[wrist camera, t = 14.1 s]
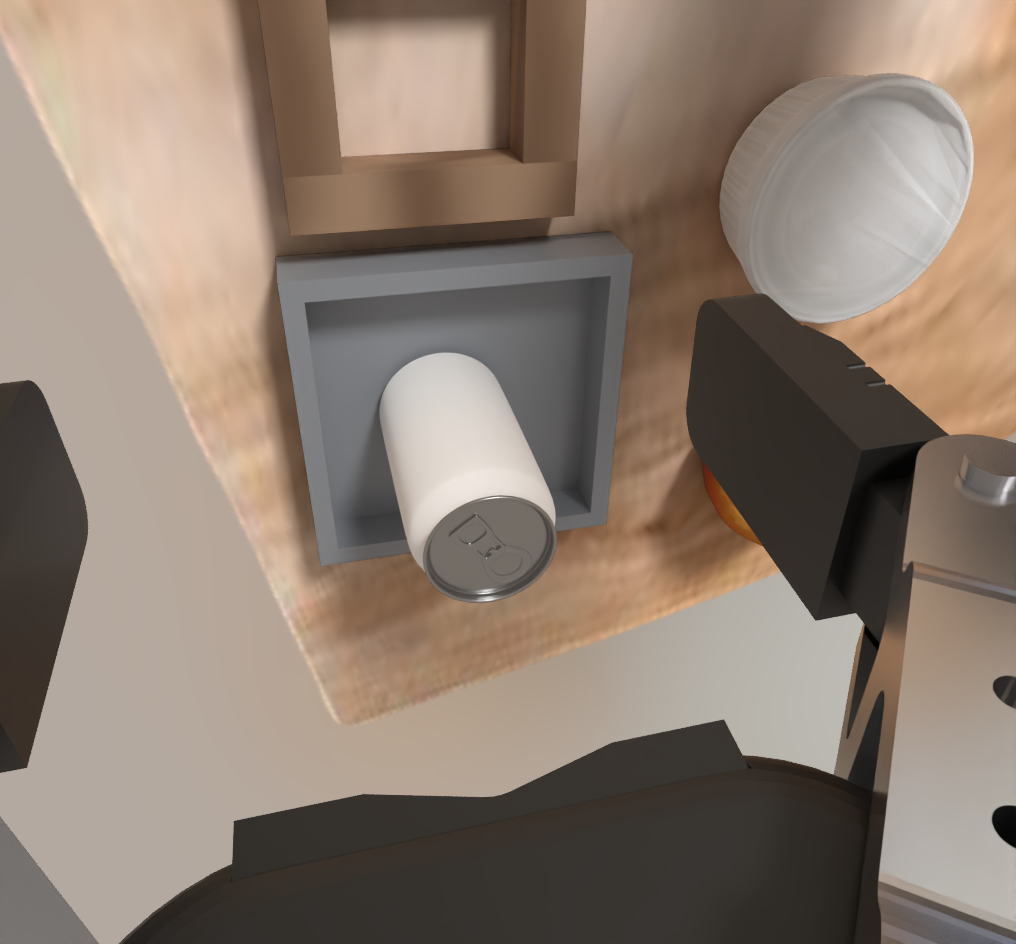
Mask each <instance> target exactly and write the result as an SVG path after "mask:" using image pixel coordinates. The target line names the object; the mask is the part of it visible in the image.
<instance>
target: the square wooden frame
mask: <svg viewBox="0 0 1016 944" xmlns="http://www.w3.org/2000/svg"><path fill="white" fill-rule="evenodd" d="M258 6H259V14H260V21H261V28H262V35H263V42H264V49H265V57H266V64H267V71H268V78H269V85H270V92H271V100H272V107H273V114H274V121H275V128H276V136H277V143H278V150H279V157H280V164H281V171H282V179H283V186H284V193H285V200H286V207H287V214H288V222H289V229H290V236H298V235H312V234H326V233H340V232H354V231H368V230H381V229H395V228H409V227H423V226H437V225H451V224H465V223H479V222H493V221H507V220H521V219H535V218H549V217H563V216H574V210H575V192H576V174H577V157H578V139H579V121H580V104H581V86H582V69H583V51H584V33H585V16H586V0H511V54H510V138H509V148H501V149H483V150H464V151H446V152H428V153H409V154H391V155H372V156H354V157H341V152H340V142H339V132H338V122H337V112H336V101H335V91H334V81H333V71H332V61H331V51H330V41H329V31H328V21H327V10H326V0H258Z"/></svg>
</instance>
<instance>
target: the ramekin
mask: <svg viewBox="0 0 1016 944" xmlns="http://www.w3.org/2000/svg"><path fill="white" fill-rule="evenodd" d="M973 167H974V150H973V141H972V136H971V131H970V128H969V124H968V122H967V120H966V117H965V115H964V113H963V112H962V110H961V108H960V107H959V105H958V104H957V103H956V101H955V100H954V99H953V98H952V97H951V96H950V95H949V94H948V93H947V92H946V91H944V90H943V89H942V88H940V87H939V86H937V85H935V84H934V83H931V82H929V81H927V80H924V79H921V78H918V77H915V76H910V75H904V74H897V73H886V74H875V75H869V76H846V75H844V76H828V77H823V78H815V79H812V80H810V81H808V82H804V83H800V84H799V85H797V86H796V87H794V88H792V89H789V90H787V91H786V92H785V93H783V94H782V95H781V96H779V97H777V98H776V99H775V100H774V101H773V102H772V103H770V104H769V105H768V106H766V107H765V108H764V109H763V110H762V111H761V113H760V114H759V115H757V116H756V117H755V118H754V120H753V121H752V123H751V124H750V125H749V126H748V128H747V129H746V130H745V131H744V133H743V134H742V136H741V138H740V139H739V140H738V142H737V143H736V146H735V148H734V150H733V151H732V153H731V155H730V157H729V161H728V164H727V166H726V168H725V171H724V176H723V180H722V183H721V192H720V196H719V197H720V204H719V210H720V220H721V223H722V226H723V232H724V234H725V236H726V238H727V241H728V244H729V246H730V247H731V249H732V250H733V252H734V254H735V255H736V257H737V259H738V260H739V262H740V263H741V265H742V267H743V270H744V273H745V275H746V277H747V279H748V281H749V283H750V285H751V286H752V288H753V289H754V291H755V292H756V293H757V294H760V293H763V294H766V295H768V296H769V297H770V298H771V299H773V300H774V301H775V302H776V303H777V304H778V305H779V306H780V307H781V308H783V309H784V310H785V311H786V312H787V313H788V314H789V315H790V316H791V317H793V318H794V319H795V320H798V321H802V322H810V323H817V324H824V323H834V322H839V321H843V320H847V319H850V318H855V317H858V316H860V315H863V314H865V313H868V312H870V311H872V310H874V309H876V308H878V307H880V306H881V305H883V304H885V303H887V302H888V301H890V300H891V299H893V298H894V297H896V296H897V295H899V294H900V293H901V292H903V291H904V290H905V289H906V288H907V287H909V286H910V285H911V284H912V283H913V282H914V281H915V280H916V279H917V278H919V277H920V276H921V274H922V273H924V271H925V270H926V269H927V268H928V267H929V266H930V265H931V263H932V262H933V261H934V260H935V259H936V257H937V256H938V255H939V253H940V252H941V251H942V250H943V248H944V247H945V245H946V244H947V243H948V241H949V239H950V237H951V236H952V234H953V232H954V230H955V228H956V226H957V224H958V222H959V220H960V218H961V215H962V213H963V211H964V208H965V205H966V202H967V198H968V195H969V191H970V187H971V182H972V177H973Z"/></svg>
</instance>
